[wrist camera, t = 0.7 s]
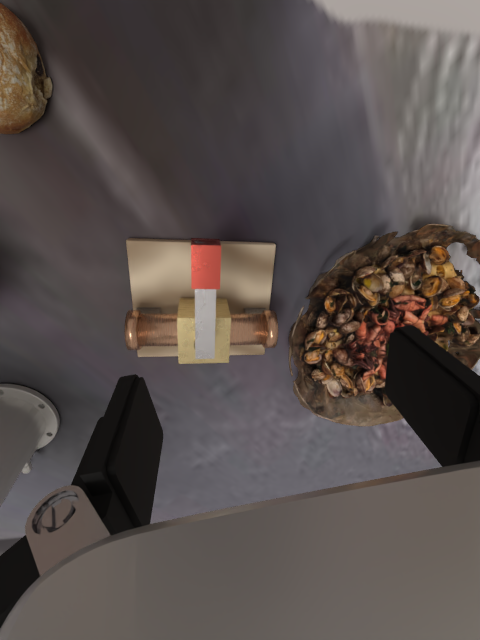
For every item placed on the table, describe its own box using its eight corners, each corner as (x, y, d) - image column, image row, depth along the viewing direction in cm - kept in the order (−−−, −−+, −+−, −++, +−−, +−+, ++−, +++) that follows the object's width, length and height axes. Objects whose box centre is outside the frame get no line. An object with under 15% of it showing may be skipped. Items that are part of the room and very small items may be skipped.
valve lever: (215, 350, 35) (217, 368, 32) (192, 351, 35) (192, 368, 31) (218, 238, 30) (221, 245, 26) (191, 237, 29) (191, 244, 26)
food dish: (361, 173, 38) (400, 171, 31) (517, 277, 49) (572, 293, 42) (237, 388, 49) (246, 423, 42) (387, 436, 60) (414, 470, 52)
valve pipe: (266, 336, 44) (278, 365, 37) (136, 338, 41) (124, 368, 35) (270, 297, 41) (284, 320, 35) (131, 296, 39) (118, 321, 32)
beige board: (262, 349, 46) (264, 354, 45) (139, 351, 44) (137, 356, 42) (273, 242, 39) (275, 245, 38) (128, 238, 37) (126, 240, 36)
